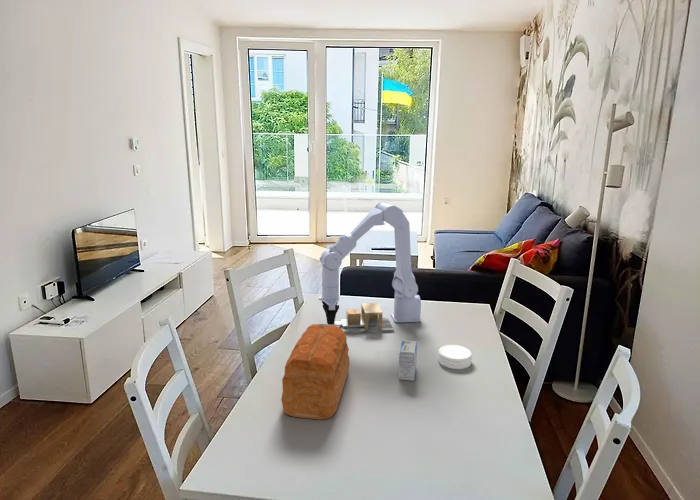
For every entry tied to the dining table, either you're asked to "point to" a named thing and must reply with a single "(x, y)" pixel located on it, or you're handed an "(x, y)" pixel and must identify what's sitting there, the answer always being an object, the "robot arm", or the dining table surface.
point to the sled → (351, 319)
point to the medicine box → (407, 360)
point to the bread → (316, 373)
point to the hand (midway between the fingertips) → (330, 321)
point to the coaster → (454, 357)
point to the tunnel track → (370, 321)
